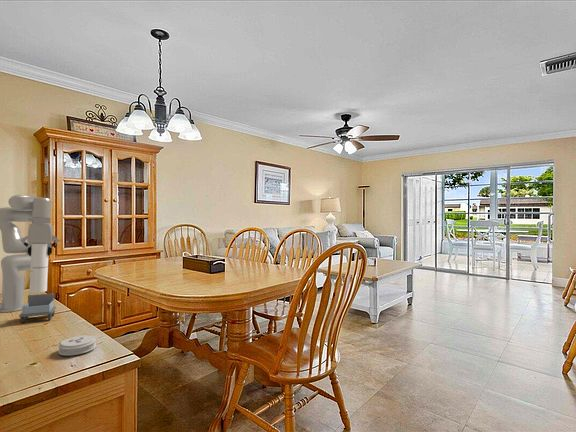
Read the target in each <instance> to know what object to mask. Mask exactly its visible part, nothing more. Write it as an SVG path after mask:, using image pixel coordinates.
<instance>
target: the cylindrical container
mask: <svg viewBox="0 0 576 432" xmlns="http://www.w3.org/2000/svg"><path fill="white" fill-rule="evenodd" d="M48 248H49V246H48V243H32V246H31V269H30V270H29V271H30V273H29V293H30V294H31V293H32V294H34V293H35V294H38V293H44V292H47V291H48V274H49V255H48Z"/></svg>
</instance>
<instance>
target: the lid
mask: <svg viewBox="0 0 576 432" xmlns="http://www.w3.org/2000/svg"><path fill="white" fill-rule="evenodd" d="M96 342H97V339H96V337H94V336H93V335H78V336H73V337H69V338H67V339H64V340H62V341H61V342H60V343H59V344H58V345H57V347H58V352H57V354H58V355H60V356H77V355H82V354H85V353H89V352H91V351H92V350H94V349H95V348H96V347H97V344H96Z"/></svg>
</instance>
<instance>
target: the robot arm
mask: <svg viewBox="0 0 576 432" xmlns="http://www.w3.org/2000/svg"><path fill="white" fill-rule="evenodd" d="M8 205H9V207H5V206H4V207H0V233H1V242H2V250H3V252H4V253H5V254H10V255H6V256H4V257H2V258H1V261H0V267H1V272H2V273H1V276H2V286H1V287H2V288H1V302H0V313H10V312H11V313H13V312H19V311H22V307H23V306H25V305H26V304H24V293H25V292H24V291H25V278H24V276H23V275H22V274H21V272H23V271H30V269H31V246H32V243H48V246H49V248H48V256H51V255H52V253H53V247H55V246H56V245H57V244H58V243H59V242H60V239H59V238H58V237H56V235H54V230H53V224H52V223H51V215H52V213H51V210H52V199H50V198H49V197H38V196H36V195H26V194H25V195H24V194H16V195H12V196H10V198H9V199H8ZM13 222H17V223H19V222H20V223H21V222H22V223H23V222H24V223H26V222H27V223H28V222H31V223H29V225H28V230H27V231H28V232H27V235H26V236H25V237H24V236H21V235H22V234H21V229H20V227H18V226H17V225H16V224H15V223H13ZM53 241H54V242H53ZM52 242H53V243H52ZM11 254H12V255H11Z"/></svg>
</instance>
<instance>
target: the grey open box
mask: <svg viewBox="0 0 576 432" xmlns="http://www.w3.org/2000/svg"><path fill="white" fill-rule="evenodd" d="M54 304H55V293H43V294H42V293H40V294H38V293H37V294H27V303H25V304H24V305H25V306H23V307H22V310H21V313H20V314H19V315H18V317H19V318H20V324H22V323H25V320H26V319H29V317H34V316H35V317H37V316H39V317H40V316H47V320H49V321H51V320H52V318H53V316H55V313H56V309H57V308H56V306H54Z"/></svg>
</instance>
